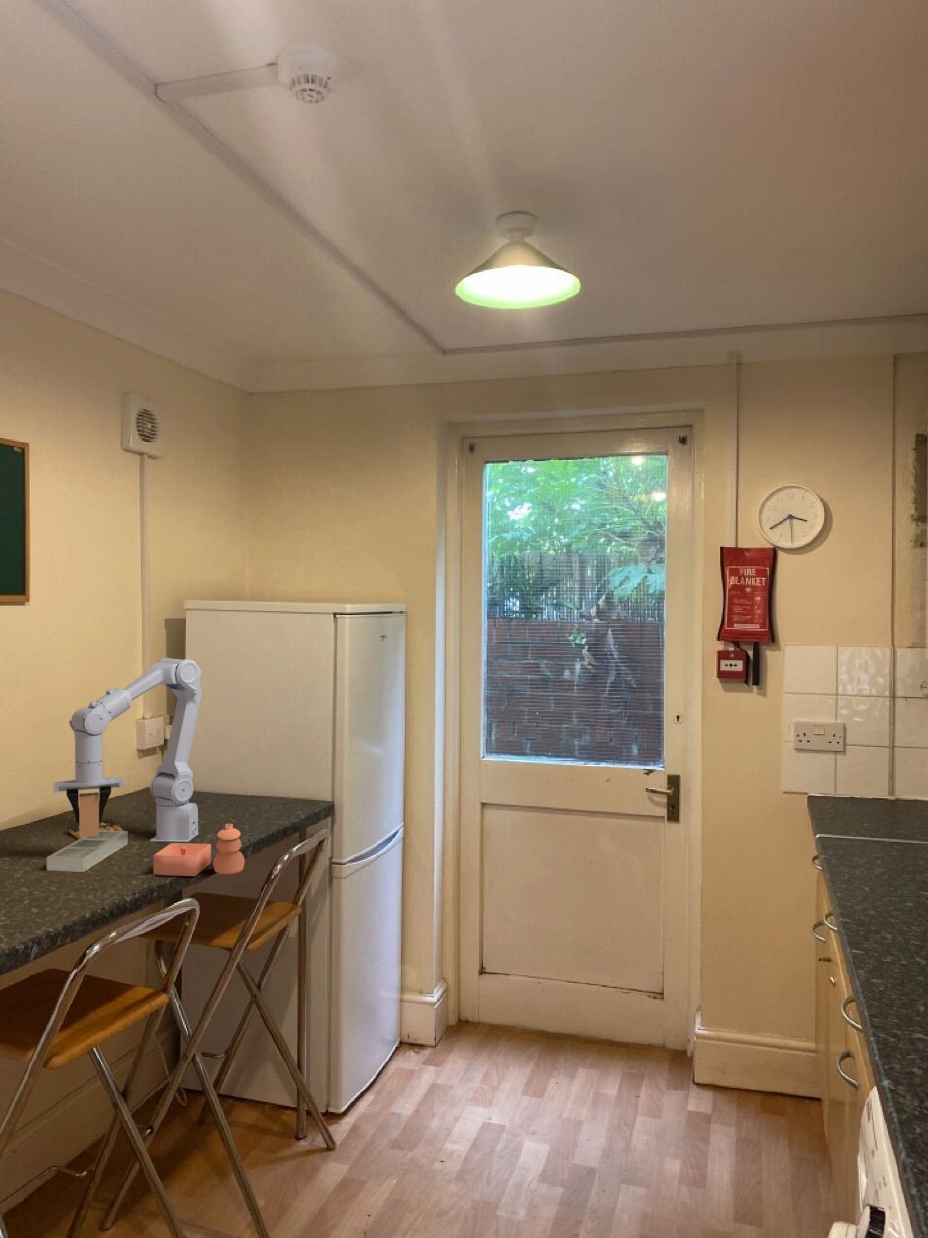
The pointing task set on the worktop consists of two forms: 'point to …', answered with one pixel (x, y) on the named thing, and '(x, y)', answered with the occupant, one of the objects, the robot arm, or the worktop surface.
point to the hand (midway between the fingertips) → (89, 821)
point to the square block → (89, 814)
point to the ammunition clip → (103, 826)
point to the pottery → (201, 856)
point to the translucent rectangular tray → (87, 851)
